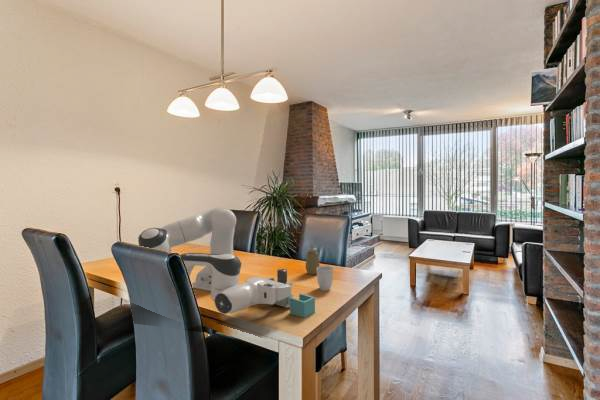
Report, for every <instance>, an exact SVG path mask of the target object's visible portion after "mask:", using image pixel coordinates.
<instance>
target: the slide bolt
mask: <svg viewBox="0 0 600 400" xmlns="http://www.w3.org/2000/svg"><path fill="white" fill-rule="evenodd" d="M276 271H277V272H276V275H277V277H276V279H277V281H276V282H280V283H284V284H286V282H288V270H287V268H279V269H277V270H276ZM290 298H294V294H292V293H291V295H290V296H289V297H287V298H285V299H282V300H280V301H276V303H275V304H277V306H281V307H284V308H285V309H286V308H287V309H288V308H290Z"/></svg>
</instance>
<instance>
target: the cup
mask: <svg viewBox="0 0 600 400" xmlns="http://www.w3.org/2000/svg"><path fill="white" fill-rule="evenodd" d="M316 279H317V283H318V287H319V289H320V290H321V291H330V290H331V288H332V285H333V279H334V267H332V266H329V265H320V267H317V274H316Z"/></svg>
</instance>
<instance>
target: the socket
mask: <svg viewBox="0 0 600 400" xmlns="http://www.w3.org/2000/svg"><path fill="white" fill-rule="evenodd" d="M298 297H299V299H298V298H294V297H293V298H290V306H289V314H291V315H294V316H297V317H300V318H303V319H306V318H307V317H310V316H311V315H313V314H315V313H316V297H315V296H311V295H308V294H305V293H304V294H303V293H299V295H298Z"/></svg>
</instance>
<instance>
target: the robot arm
mask: <svg viewBox="0 0 600 400" xmlns="http://www.w3.org/2000/svg"><path fill="white" fill-rule="evenodd" d="M237 221H238V220H237V216H236V215H235V213H234V212H233V211H232V210H231V209H227V208H224V207H219V206H218V207H213V208H211V209H209V210H208V209H207V210H205V211H202V212H200V213H198V214H196V215H193V216H190V217H186V218H183V219H181V220H177V221H173V222H171V223H168V224H166V225H164V226H162V227H161V228H160V227H151V228H150V227H149V228H147V229H145V230H143V231H142V232H141V233H140V234H139V235H138V239H137V240H138V246H139V247H140V246H144V247H149V248H154V249H160V250H164V251H169V252H173V251H172V248H173V247H178V246H181V245H184V244H188V243H190V242H193V241H197V240H198V239H201V238H203V237H205V236H206V235H209V234H210V233H211V236H210V237H211V238H210V241H209V249H210V252H209V253H202V252H201V253H200V252H198V253H197V252H186V253H182V254H179V255H180V256H181V258H182V259H183V261H184V263H185V266H186V268H187V271H188V275H189V277H190V276H191V274H192V271H193V270H194V268H195V266H196V267H197V266H199V267H203V268H202V269H201V270H200V271H198V272H197V274H196V275H195V276H196V277H195V281H193V282H192V283H191V284H192V285H193V288H192V289H197V290H203V291H207V292H208V291H209V292H210V298H211V300H212V301H213V302H214V305H215V308H216V309H217V311H218V312H219V313H221V314H223V315H228V314H234V313H238V312H240V311H243V310H246V309H247V308H249V307H251V306H255V305H266V304H275V303H276V301H280V300H282V299H285V298H287V297H289V296H290V295H291V294H292V282H291V281H287V282H286V284H284V283H280V282H277V281H276V280H275V277H267V278H265V277H261V276H253V277H250V278H247V279H246V280H245V281H244V282H243V283H239V279H240V273H241V269H242V268H241V267H242V262H241V260H240V258H238V256H237V255H235V254H234V236H235V230H236V225H237Z"/></svg>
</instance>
